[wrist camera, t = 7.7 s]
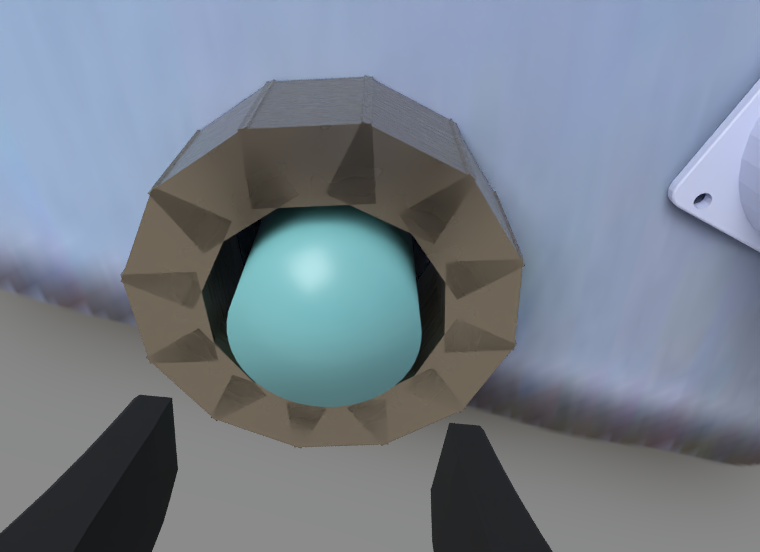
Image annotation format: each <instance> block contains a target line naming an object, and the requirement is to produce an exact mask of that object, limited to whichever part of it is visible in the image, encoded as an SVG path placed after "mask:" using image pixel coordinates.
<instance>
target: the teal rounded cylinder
mask: <svg viewBox="0 0 760 552" xmlns="http://www.w3.org/2000/svg"><path fill="white" fill-rule="evenodd" d="M421 334H422V331H421V321H420V312H419V302H418V292H417V283H416V273H415V263H414V253H413V244H412V234H411V233H409V232H407V231H404V230H402V229H400V228H398V227H396V226H394V225H392V224H389V223H387V222H385V221H383V220H381V219H379V218H376V217H374V216H372V215H370V214H368V213H366V212H364V211H361V210H359V209H357V208H355V207H353V206H351V205H335V206H311V207H287V208H277V209H275V210H274V211H272V212H271V213H269V214H267V215H266V216H264V217H263V218H262V221H261V223H260V226H259V229H258V232H257V234H256V237H255V240H254V242H253V245H252V248H251V251H250V253H249V256H248V259H247V262H246V264H245V267H244V270H243V272H242V275H241V278H240V281H239V283H238V286H237V289H236V292H235V294H234V297H233V300H232V302H231V305H230V308H229V311H228V317H227V336H228V342H229V345H230V348H231V351H232V353H233V355H234V357H235V359H236V361H237V362H238V363H239V365H240V366H241V368H242V369H243V370H244V371H245V372H246V373H247V375H248V376H249V377H250V378H252V379H253V380H254V381H255V382H256V383H257V384H259V385H260V386H262V387H263V388H265V389H266V390H268V391H269V392H271V393H273V394H275V395H277V396H279V397H282V398H284V399H287V400H289V401H293V402H296V403H300V404H305V405H310V406H319V407H338V406H347V405H353V404H358V403H361V402H364V401H368V400H370V399H372V398H375V397H377V396H379V395H381V394H383V393H385V392H386V391H388V390H389V389H391V388H392V387H394V386H395V385H396V384H397V383H398V382H399V381H401V380H402V379H403V378H404V377H405V375H406V374H407V373H408V372H409V370H410V369H411V367H412V366H413V364H414V362H415V360H416V358H417V355H418V353H419V349H420V345H421Z"/></svg>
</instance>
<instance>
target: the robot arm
mask: <svg viewBox="0 0 760 552" xmlns="http://www.w3.org/2000/svg"><path fill="white" fill-rule="evenodd" d="M703 193H706V196H705V197H704V199H703V200H702V201H701V202H699V203H695V204H694V200H695V198H696V197H697V196H699V195H700V194H703ZM668 197H669V199H670V200H671V201H672V202H673V203H674V204H675V205H676V206H677V207H678V208H680V209H682V210H684V211H686V212H687V213H689V214H691V215H693V216H695V217H697V218H698V219H700V220H702V221H704V222H706V223H707V224H709V225H711V226H713V227H715V228H716V229H718V230H720V231H722V232H724V233H726V234H727V235H729V236H731V237H733V238H735V239H736V240H738V241H740V242H742V243H744V244H746V245H747V246H749V247H751V248H753V249H755V250H756V251H758V252H760V79H759V80H758V81H757V83H756V84H755V85H754V86H753V87H752V88H751V90H750V91H749V92H748V93H747V94H746V95H745V97H744V98H743V99H742V100H741V101H740V103H739V104H738V105H737V106H736V107H735V108H734V110H733V111H732V112H731V113H730V114H729V116H728V117H727V118H726V119H725V120H724V121H723V123H722V124H721V125H720V126H719V127H718V129H717V130H716V131H715V132H714V133H713V134H712V136H711V137H710V138H709V139H708V140H707V142H706V143H705V144H704V145H703V146H702V147H701V149H700V150H699V151H698V152H697V153H696V155H695V156H694V157H693V158H692V159H691V160H690V162H689V163H688V164H687V165H686V166H685V168H684V169H683V170H682V171H681V172H680V173H679V175H678V176H677V177H676V178H675V179H674V181H673V182H672V183H671V185H670V187H669V189H668ZM177 470H178V466H177V453H176V442H175V428H174V416H173V404H172V398H168V397H157V396H146V395H139V396H137V397H136V398H134V399H133V400H132V402H131V403H130V404H129V405H128V406H127V407H126V408H125V409H124V411H123V412H122V413H121V414H120V415H119V416H118V417H117V418H116V419H115V420H114V422H113V423H112V424H111V425H110V426H109V427H108V428H107V429H106V430H105V431H104V432H103V434H102V435H101V436H100V437H99V438H98V439H97V440H96V441H95V442H94V443H93V444H92V445H91V446H90V447H89V449H88V450H87V451H86V452H85V453H84V454H83V455H82V456H81V457H80V458H79V459H78V460H77V461H76V462H75V463H74V464H73V465H72V466H71V467H70V468H69V469H68V470H67V471H66V472H65V473H64V474H63V475H62V476H61V477H60V478H59V479H58V480H57V481H56V482H55V483H54V484H53V485H52V486H51V487H50V488H49V489H48V490H47V491H46V492H45V493H44V494H43V495H42V496H40V497H39V498H38V499H37V500H36V501H35V502H34V503H33V504H32V505H31V506H30V507H28V508H27V509H26V510H25V511H24V512H23V513H22V514H21V515H20V516H19V517H18V518H17V519H15V520H14V521H13V522H12V523H11V524H10V525H9V526H8V527H7V528H6V529H5V530H3V532H1V533H0V552H152V550H153V547H154V545H155V542H156V540H157V537H158V535H159V532H160V529H161V527H162V524H163V521H164V518H165V515H166V511H167V507H168V504H169V501H170V497H171V493H172V489H173V486H174V482H175V478H176V474H177ZM431 516H432V542H433V549H434V552H552V550H551V549H550V547H549V545H548V544H547V542H546V541H545V539H544V538H543V536H542V534H541V533H540V531H539V529H538V528H537V526H536V525H535V523H534V521H533V520H532V518H531V516H530V515H529V513H528V511H527V510H526V508H525V506H524V505H523V503H522V502H521V500H520V498H519V496H518V494H517V493H516V491H515V489H514V487H513V485H512V484H511V482H510V480H509V478H508V476H507V475H506V473H505V471H504V470H503V467H502V465H501V463H500V461H499V460H498V458H497V456H496V454H495V452H494V450H493V448H492V446H491V444H490V442H489V440H488V438H487V436H486V434H485V432H484V430H483V429H482V428H481V427H480V426H476V425H465V424H455V423H449V427H448V430H447V434H446V438H445V441H444V445H443V448H442V452H441V456H440V459H439V463H438V466H437V470H436V474H435V477H434V481H433V485H432V488H431Z"/></svg>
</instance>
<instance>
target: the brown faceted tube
mask: <svg viewBox="0 0 760 552" xmlns="http://www.w3.org/2000/svg"><path fill="white" fill-rule="evenodd" d="M148 194H149V195H150V196H149V199H148V202H147V205H146V208H145V211H144V214H143V217H142V220H141V223H140V226H139V229H138V232H137V235H136V238H135V241H134V244H133V247H132V250H131V253H130V256H129V259H128V262H127V264H126V267H125V269H124V271H123V272H122V273H121V278H122V279H121V282H123V284H124V287H125V290H126V293H127V296H128V299H129V302H130V305H131V307H132V310H133V313H134V316H135V319H136V322H137V325H138V328H139V331H140V334H141V337H142V340H143V343H144V346H145V349H146V352H147V357H146V358H147V359H148V360H149V361H150V363H153V364H154V365H155V366H156V367H157V368H158V369H159V370H161V372H163V373H164V374H165V375H166V376H167V377H168V378H169V379H170V380H172V381H173V382H174V383H175V384H176V385H177V386H178V387H179V388H180V389H182V390H183V391H184V392H185V393H186V394H187V395H188V396H189V397H191V398H192V399H193V400H194V401H195V402H196V403H197V404H198V405H199V406H200V407H202V408H203V409H204V410H205V411H206V412H207V413H208V414H209V415H211V418H213V419H215V420H216V421H218V420H219V421H222V422H225V423H228V424H231V425H234V426H237V427H240V428H243V429H246V430H249V431H251V432H254V433H257V434H260V435H263V436H266V437H269V438H272V439H275V440H278V441H281V442H284V443H287V444H290V445H293V446H294V447H298V448H302V447H317V446H318V447H319V446H348V445H378V444H381V445H384V444H388V443H389V442H391V441H393V440H396V439H398V438H400V437H403V436H405V435H407V434H409V433H412V432H414V431H416V430H418V429H421V428H423V427H425V426H427V425H430V424H432V423H434V422H436V421H438V420H441V419H443V418H446V417H448V416H450V415H452V414H455V413H457V412H461V411H462V410H464V409H465V406H466V405H467V404H468V402H469V401H470V400H471V399H472V398H473V396H474V395H475V394H476V393H477V392H478V390H479V389H480V388H481V387H482V386H483V384H484V383H485V382H486V381H487V379H488V378H489V377H490V376H491V375H492V373H493V372H494V371H495V370H496V369H497V367H498V366H499V365H500V364H501V363H502V361H503V360H504V359H505V358H506V356H507V355H508V354H509V353H510V352H511V350H514V347H515V346H516V341H515V335H516V325H517V316H518V306H519V296H520V286H521V277H522V267H524V266H525V265H524V263H523V257H522V254H521V252H520V250H519V247H518V245H517V242H516V240H515V237H514V235H513V233H512V230H511V228H510V225H509V223H508V221H507V218H506V216H505V213H504V211H503V209H502V206H501V204H500V201H499V199H498V196H497V194H496V192H495V191H494V192H493V190H492V188H491V187H490V185H489V183H488V181H487V180H486V178H485V176H484V175H483V173H482V171H481V169H480V168H479V166H478V164H477V162H476V161H475V159H474V157H473V156H472V154H471V152H470V150H469V149H468V147H467V145H466V143H465V142H464V140H463V138H462V137H461V135H460V132H459V130H458V127H457V124H456V123H454V122H453V121H452V119H447V118H445V117H443V116H441V115H439V114H437V113H436V112H434V111H432V110H430V109H428V108H426V107H424V106H422V105H421V104H419V103H417V102H415V101H413V100H411V99H409V98H407V97H405V96H404V95H402V94H400V93H398V92H396V91H394V90H392V89H390V88H388V87H387V86H385V85H383V84H381V83H379V82H377V81H375V80H373V77H368V76H366V75H365V77H359V78H338V79H316V80H294V81H275V80H272V81H271V82H266V84H265V86H264V87H262V88H261V89H259V90H258V91H257V92H255V93H254V94H252V95H251V96H249V97H248V98H247V99H245V100H244V101H242V102H241V103H239V104H238V105H236V106H235V107H234V108H232V109H231V110H229V111H228V112H226V113H225V114H224V115H222V116H221V117H219V118H218V119H216V120H215V121H214V122H212V123H211V124H209V125H208V126H206V127H205V128H203V129H202V130H201V131H200V130H197V132H196V133H195V134H194V136H193V137H192V138H191V139H190V141H189V142H188V143H187V144H186V146H185V147H184V148H183V149H182V151H181V152H180V153H179V154H178V156H177V157H176V158H175V159H174V161H173V162H172V163H171V164H170V166H169V167H168V168H167V169H166V171H165V172H164V173H163V174H162V176H161V177H160V178H159V180H158V181H157V182H156V183H155V185H154V186H153V187H152V189H151V190H150V191H149V192H148ZM335 205H351V206H353V207H355V208H357V209H359V210H361V211H364V212H366V213H368V214H370V215H372V216H374V217H376V218H379V219H381V220H383V221H385V222H387V223H389V224H392V225H394V226H396V227H398V228H400V229H402V230H404V231H407V232H409V233H411V234H412V235H413V236H414V238H415V239H416V241H417V242H418V244H419V245H420V247H421V248H422V249H423V251H424V252H425V254H426V255H427V257H428V258H429V260H430V263H429V264H428V266H427V267H426V269H425V270H424V272H423V273H422V275H421V277H420V278H419V280H418V281H417V292H418V302H419V312H420V321H421V331H422V334H421V345H420V349H419V353H418V355H417V358H416V360H415V362H414V364H413V366H412V367H411V369H410V370H409V372H408V373H407V374H406V375H405V377H404V378H403V379H402V380H401V381H399V382H398V383H397V384H396V385H395V386H394V387H392V388H391V389H389V390H388V391H386V392H385V393H383V394H381V395H379V396H377V397H375V398H372V399H370V400H368V401H364V402H361V403H358V404H353V405H347V406H338V407H319V406H310V405H305V404H300V403H296V402H293V401H289V400H287V399H284V398H282V397H279V396H277V395H275V394H273V393H271V392H269V391H268V390H266V389H265V388H263V387H262V386H260V385H259V384H257V383H256V382H255V381H254V380H253V379H252V378H250V377H249V376H248V375H247V373H246V372H245V371H244V370H243V369H242V368H241V366H240V365H239V363H238V362H237V361H236V359H235V357H234V355H233V353H232V351H231V348H230V345H229V342H228V336H227V317H228V311H229V308H230V305H231V302H232V300H233V297H234V294H235V292H236V289H237V286H238V283H239V281H240V278H241V275H242V272H243V270H244V267H243V264H242V259H241V254H240V249H239V243H238V238H237V233H238V232H240V231H241V230H243V229H245V228H246V227H248V226H249V225H251V224H253V223H254V222H256V221H258V220H259V219H261V218H262V217H264V216H266V215H267V214H269V213H271V212H272V211H274V210H275V209H277V208H287V207H311V206H335Z"/></svg>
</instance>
